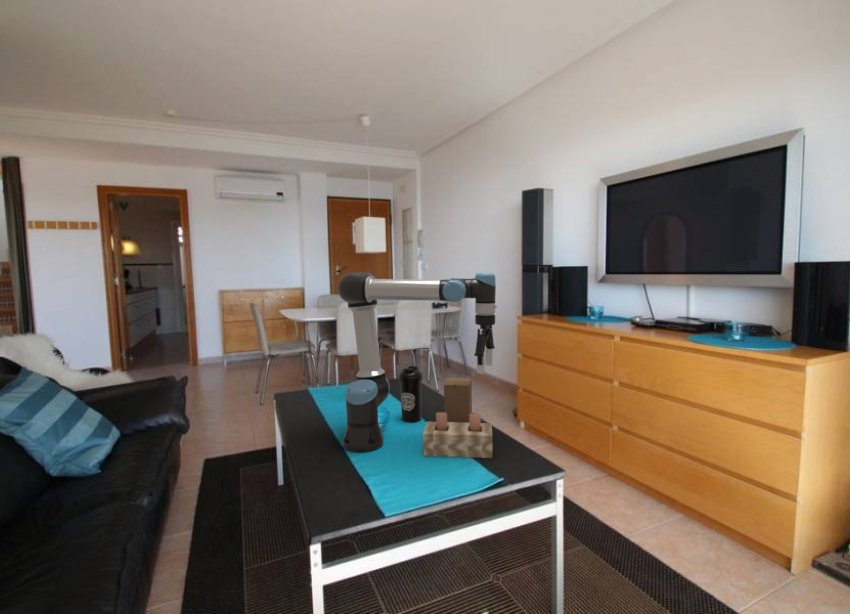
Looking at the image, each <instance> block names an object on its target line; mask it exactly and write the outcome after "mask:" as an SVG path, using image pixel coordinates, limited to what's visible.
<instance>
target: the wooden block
mask: <svg viewBox="0 0 850 614" xmlns="http://www.w3.org/2000/svg"><path fill="white" fill-rule="evenodd" d="M443 398H444V399H443V400H444V401H443V405H444V407H443V409H444V411H443V412H445V413H447V422H461V423H469V414H471V413H473V412H472V411H473V410H472V409H473V407H472V406H473V405H472V404H473V401H472V400H473V399H472V398H473V396H472V379H471V378H463V377H462V378H460V377H459V378H456V377H447V379H446V381H445V383H444V384H443Z"/></svg>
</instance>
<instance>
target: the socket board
mask: <svg viewBox="0 0 850 614" xmlns="http://www.w3.org/2000/svg"><path fill="white" fill-rule="evenodd" d="M425 424H426V425H425V427H424V430H423V433H422V440H423V445H422V447H423V456H424V457H427V456H428V457H445V458H446V457H449V458H453V457H454V458H477V459H478V458H482V459H493V428H492V427H493V425H492V423H491V422H481V432H476V431H469V423H461V422H447V431H440V430H436V421H426V423H425Z"/></svg>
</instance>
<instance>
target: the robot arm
mask: <svg viewBox="0 0 850 614" xmlns="http://www.w3.org/2000/svg"><path fill="white" fill-rule="evenodd" d="M496 285H497V284H496V275H495V274H494V273H493V272H492V273H491V272H489V273H486V272H485V273H484V272H483V273H481V272H480V273H476V274H475V276H474V278H473V277H472V278H454V277H451V278H445V279H420V278H419V279H416V278H415V279H414V278H412V279H411V278H408V279H407V278H405V279H404V278H402V279H401V278H376V277H375V276H373V274H370V273H368V272H365V271H359V272H349V273H346V274H344V275H343V276H341V278H340V279H339V281H338V283H337V292H338V295H339V297H340V298H341V299H342V300H343V301H344V302H346V303H347V308H348V309H349V311H351V312H352V317H353V325H354V326H353V327H354V333H355V334H354V335H355V343H356V352H357V361H358V368H359V371H358V372H356V373H357V374H355V375H356V376H355V377H356V381H352V382H350V383H349V384H348V385H347V386H346V388H345V407H346V429H345V430H344V431H345V432H344V436H343V438H342V446H343V448H344V449H345V450H346V451H348V452H350V453H351V452H352V453H367V452H368V453H369V452H372V451H376V450H378V449H380V448H381V447H382V446H383V445H384V435H383V432H382V430H381V427H380V424H379V407H380V406H381V405H382V404H383V403H384V402H385V401H386V400H387V399H388V396H389V395H390V390H391V385H390V384H391V383H390V382H389V380H388V378H387V377H386V370H384V369H383V368H382V365H381V358H380V349H379V340H378V333H377V332H378V331H377V323H376V321H377V320H376V314H375V313H376V312H375V308H376V307H377V306H378V301H382V300H383V301H384V300H385V301H388V300H389V301H434V302H435V301H438V302H440V301H441V302H451V303H457V302H460V301H461V300H463V299H474V300H475V302H474V305H475V307H474V308H475V309H474V313H475V315H474V318H475V319H474V322H475V323H474V324H475V325H478V326H480V327H479V328H478V329H477V337H476V343H475V344H476V345H475V351H474V352H475V353H474V357H476V374H481V375H484V374H485V366H493V350H494V349H495V344H494V336H493V326H494V325H495V324H496V315H495V313H496V309H497V308H498V307H497V305H496V288H497V287H496ZM484 354H485V355H484Z"/></svg>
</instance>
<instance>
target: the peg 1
mask: <svg viewBox="0 0 850 614" xmlns="http://www.w3.org/2000/svg"><path fill="white" fill-rule="evenodd" d="M435 422H436V430H440V431H447V413H445V412H444V411H438V412H436V413H435Z"/></svg>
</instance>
